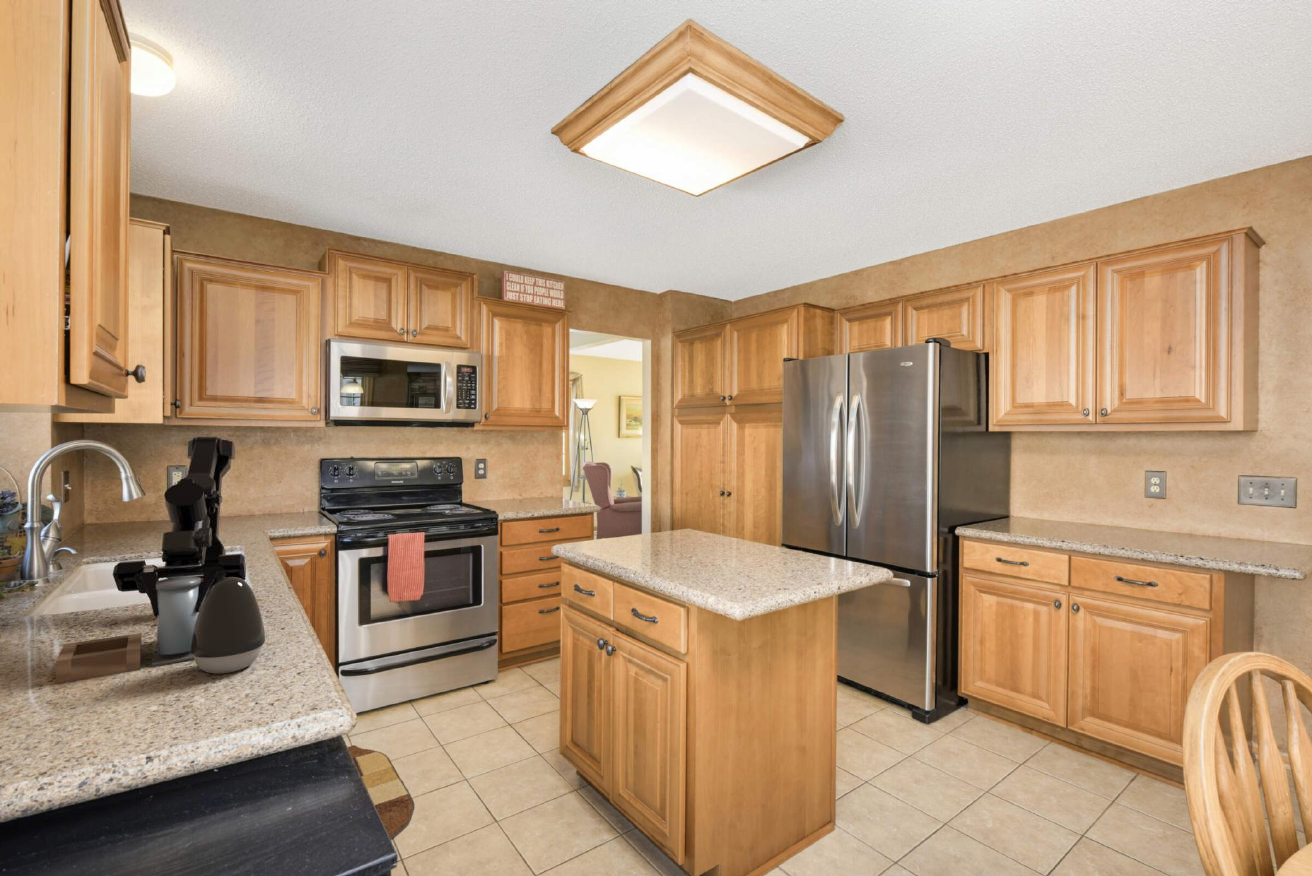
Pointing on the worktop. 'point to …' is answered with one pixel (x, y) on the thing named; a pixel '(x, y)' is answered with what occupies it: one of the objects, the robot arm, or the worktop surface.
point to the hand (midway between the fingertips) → (176, 613)
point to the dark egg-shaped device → (228, 628)
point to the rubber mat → (170, 658)
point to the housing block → (98, 658)
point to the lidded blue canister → (176, 613)
